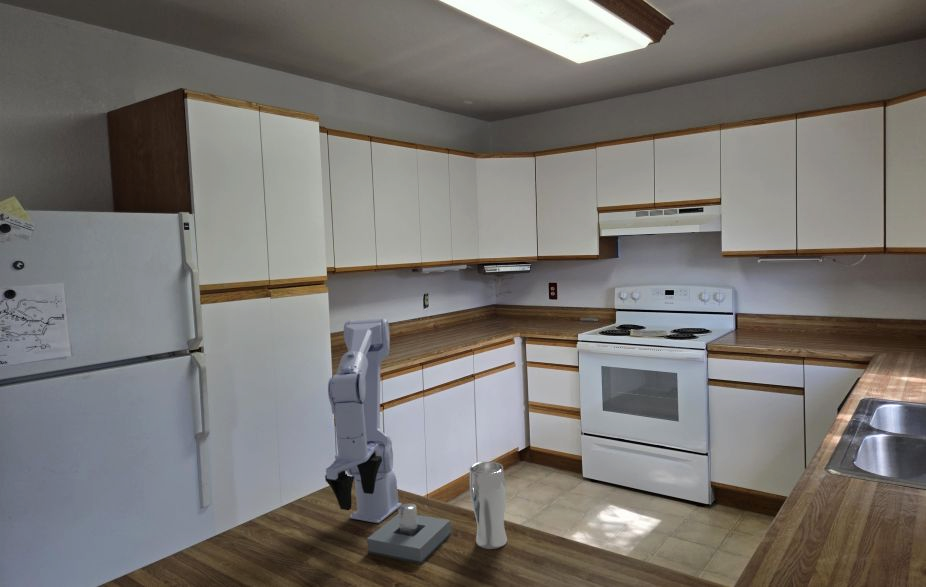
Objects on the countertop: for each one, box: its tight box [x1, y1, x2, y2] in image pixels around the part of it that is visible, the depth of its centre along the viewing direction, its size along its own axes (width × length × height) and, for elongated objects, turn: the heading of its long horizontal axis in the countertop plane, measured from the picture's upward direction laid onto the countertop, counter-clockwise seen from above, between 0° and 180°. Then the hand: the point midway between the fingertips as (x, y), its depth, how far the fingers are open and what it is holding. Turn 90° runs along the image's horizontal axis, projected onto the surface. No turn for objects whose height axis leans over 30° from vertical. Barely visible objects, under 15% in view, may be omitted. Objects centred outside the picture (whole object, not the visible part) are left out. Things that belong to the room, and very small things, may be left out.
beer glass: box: [469, 461, 508, 550], centre depth 122 cm, size 7×7×15 cm
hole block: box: [366, 513, 452, 565], centre depth 124 cm, size 12×12×3 cm
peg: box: [397, 502, 418, 537], centre depth 124 cm, size 4×4×7 cm
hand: (357, 500), depth 124 cm, fingers open, 7 cm apart
